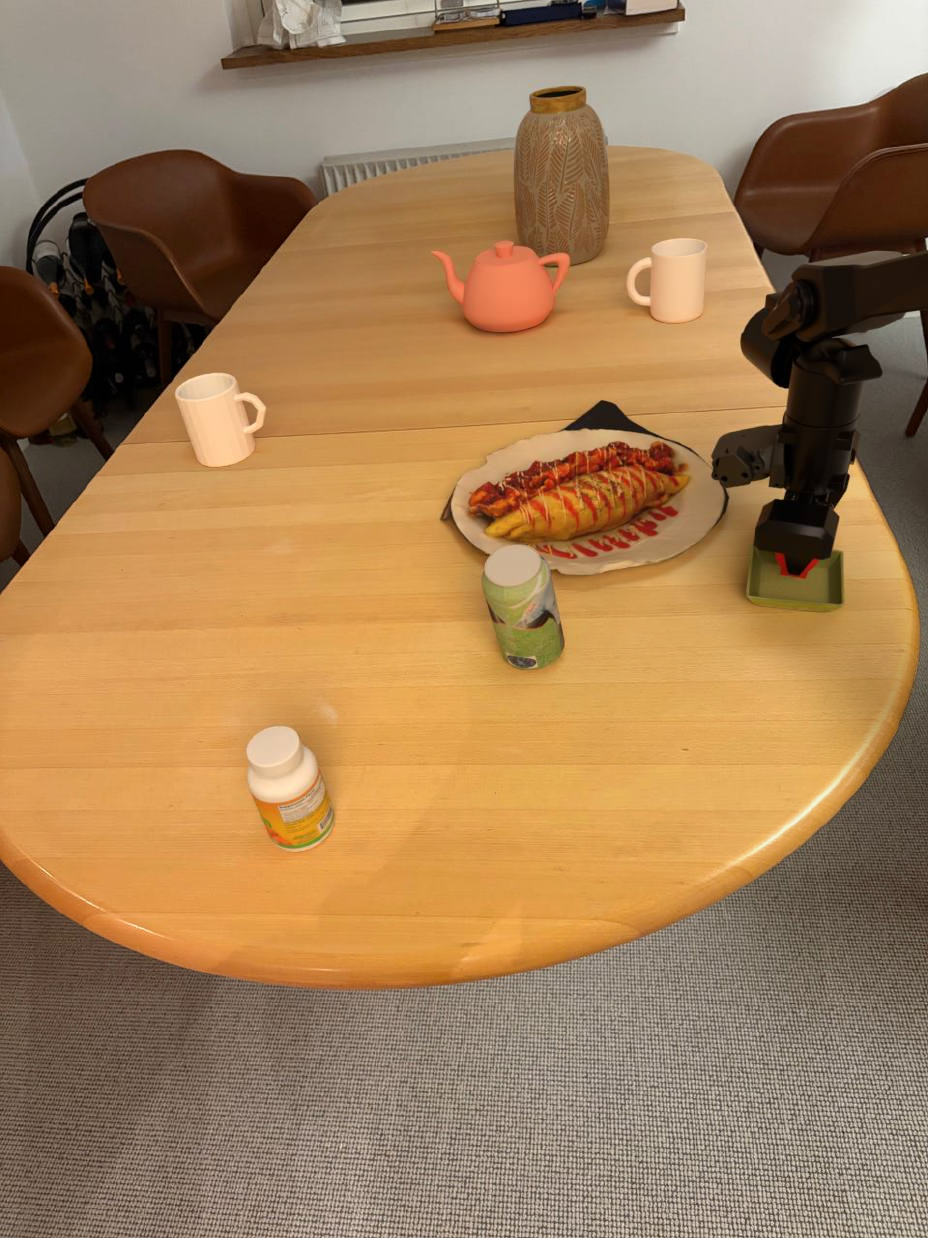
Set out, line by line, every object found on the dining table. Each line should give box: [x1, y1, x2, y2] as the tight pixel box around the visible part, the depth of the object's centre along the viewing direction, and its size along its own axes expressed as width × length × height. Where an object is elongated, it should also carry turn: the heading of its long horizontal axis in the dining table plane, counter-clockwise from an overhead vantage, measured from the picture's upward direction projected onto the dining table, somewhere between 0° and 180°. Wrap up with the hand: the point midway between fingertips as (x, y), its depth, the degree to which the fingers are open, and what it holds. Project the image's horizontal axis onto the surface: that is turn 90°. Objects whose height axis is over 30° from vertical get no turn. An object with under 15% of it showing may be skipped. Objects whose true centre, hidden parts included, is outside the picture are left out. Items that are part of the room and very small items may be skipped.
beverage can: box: [480, 545, 566, 671], centre depth 79 cm, size 6×7×12 cm
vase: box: [513, 85, 611, 267], centre depth 158 cm, size 17×17×27 cm
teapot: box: [429, 240, 571, 333], centre depth 142 cm, size 22×15×12 cm
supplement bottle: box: [245, 725, 336, 853], centre depth 68 cm, size 5×5×10 cm
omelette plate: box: [439, 399, 730, 576], centre depth 101 cm, size 31×35×7 cm
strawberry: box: [775, 553, 819, 579], centre depth 83 cm, size 4×4×4 cm
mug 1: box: [174, 372, 267, 468], centre depth 117 cm, size 8×12×10 cm
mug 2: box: [625, 237, 708, 324], centre depth 137 cm, size 12×8×10 cm
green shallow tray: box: [745, 544, 846, 613], centre depth 85 cm, size 9×9×2 cm
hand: (797, 561), depth 84 cm, fingers closed on strawberry, 4 cm apart
